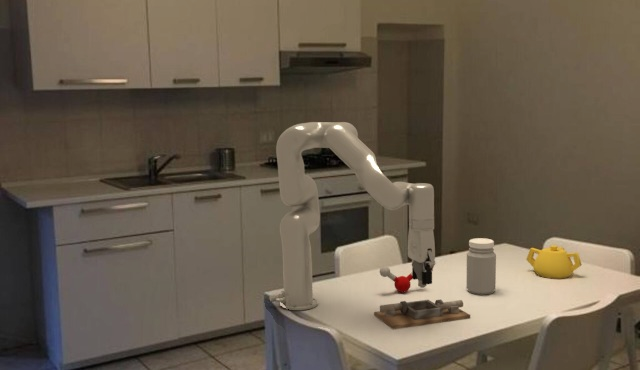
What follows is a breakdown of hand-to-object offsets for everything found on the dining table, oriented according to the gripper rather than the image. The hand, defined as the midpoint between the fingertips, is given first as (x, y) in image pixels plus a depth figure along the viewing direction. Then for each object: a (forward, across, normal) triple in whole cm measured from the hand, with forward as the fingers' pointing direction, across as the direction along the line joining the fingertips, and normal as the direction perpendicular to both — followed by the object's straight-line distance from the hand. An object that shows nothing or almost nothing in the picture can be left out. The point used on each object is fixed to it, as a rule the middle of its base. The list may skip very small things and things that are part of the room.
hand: (422, 280), depth 220 cm
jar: (+12, -16, +31) cm, 37 cm away
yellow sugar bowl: (+12, -26, +69) cm, 75 cm away
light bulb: (+2, 0, 0) cm, 2 cm away
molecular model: (+12, -26, +6) cm, 29 cm away
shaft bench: (+11, 0, 0) cm, 11 cm away
